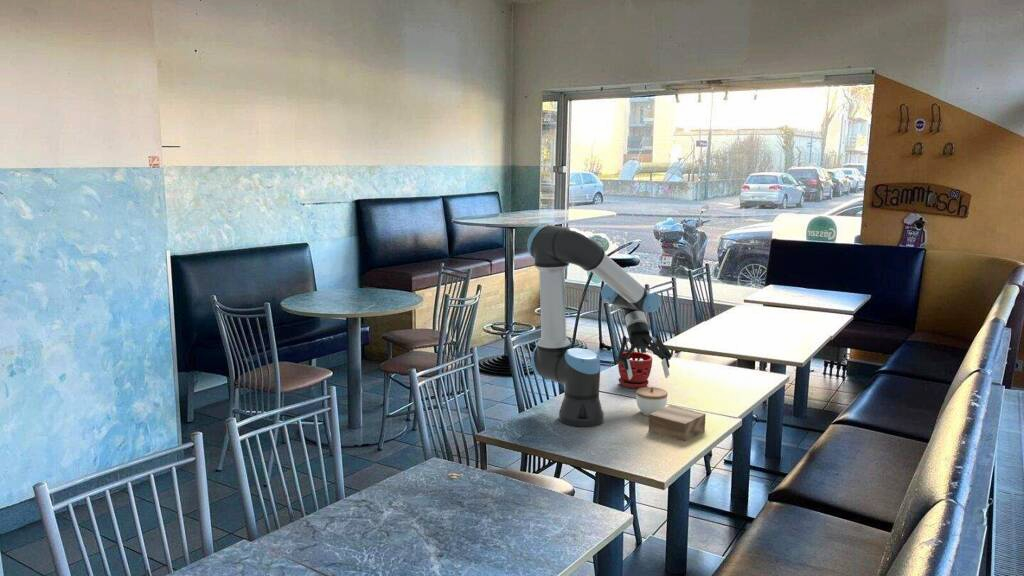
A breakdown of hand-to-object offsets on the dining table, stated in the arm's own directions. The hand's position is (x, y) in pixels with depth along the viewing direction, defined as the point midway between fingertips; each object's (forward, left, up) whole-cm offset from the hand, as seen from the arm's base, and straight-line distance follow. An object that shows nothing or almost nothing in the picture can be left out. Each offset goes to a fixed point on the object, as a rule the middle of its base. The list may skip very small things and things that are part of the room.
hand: (649, 377), depth 259 cm
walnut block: (-13, -21, -11) cm, 27 cm away
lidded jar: (-5, -5, -11) cm, 13 cm away
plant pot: (+17, +19, -11) cm, 28 cm away
